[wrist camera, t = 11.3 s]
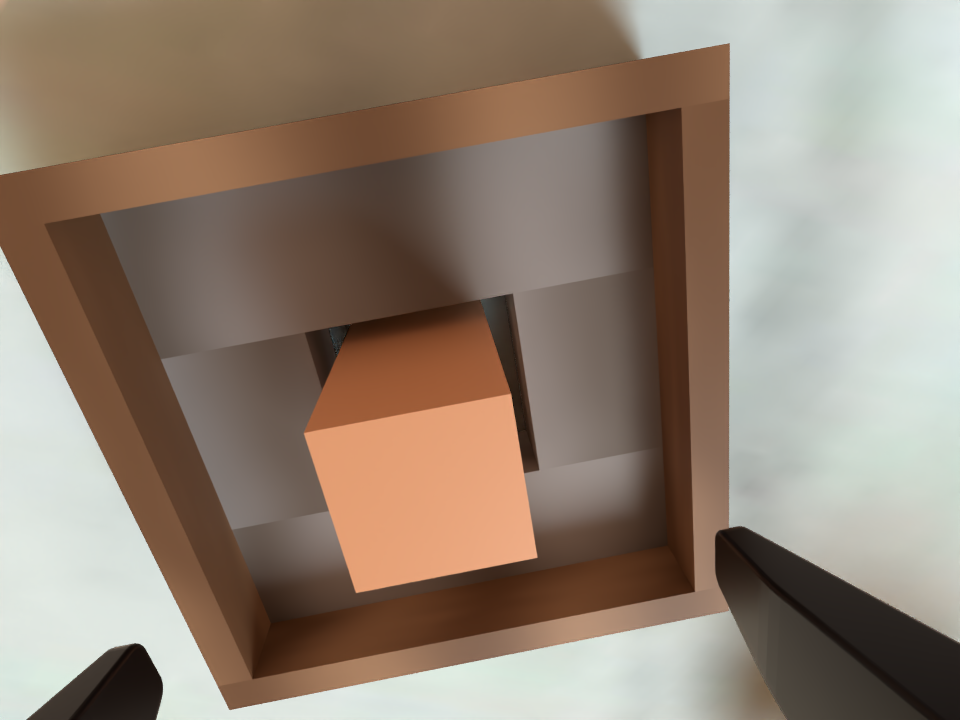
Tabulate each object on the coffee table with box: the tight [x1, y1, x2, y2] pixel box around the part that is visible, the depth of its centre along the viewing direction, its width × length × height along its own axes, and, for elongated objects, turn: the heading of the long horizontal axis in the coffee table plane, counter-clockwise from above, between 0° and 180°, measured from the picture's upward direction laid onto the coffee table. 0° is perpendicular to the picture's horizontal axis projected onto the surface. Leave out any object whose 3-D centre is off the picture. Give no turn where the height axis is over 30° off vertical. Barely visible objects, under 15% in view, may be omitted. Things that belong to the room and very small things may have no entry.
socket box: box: [0, 43, 730, 710], centre depth 16 cm, size 15×15×4 cm
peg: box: [304, 300, 538, 593], centre depth 15 cm, size 4×4×7 cm
